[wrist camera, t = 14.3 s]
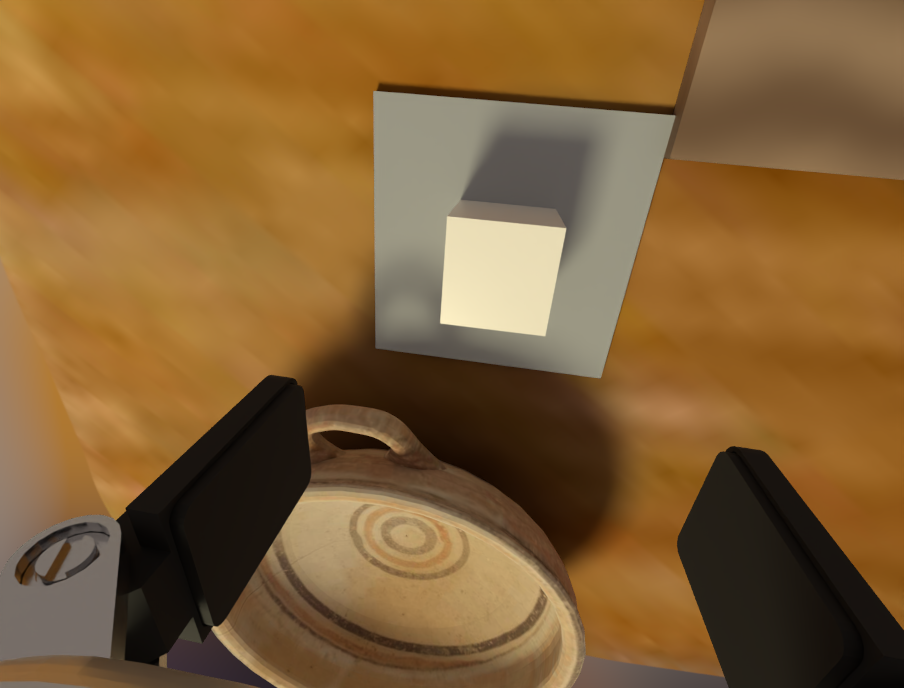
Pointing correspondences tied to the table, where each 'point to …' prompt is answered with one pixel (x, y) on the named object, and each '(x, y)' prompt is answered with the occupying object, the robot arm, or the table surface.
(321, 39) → the table surface
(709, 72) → the tan square base plate
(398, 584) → the ceramic bowl
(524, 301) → the cream cube
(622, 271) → the gray square plate
